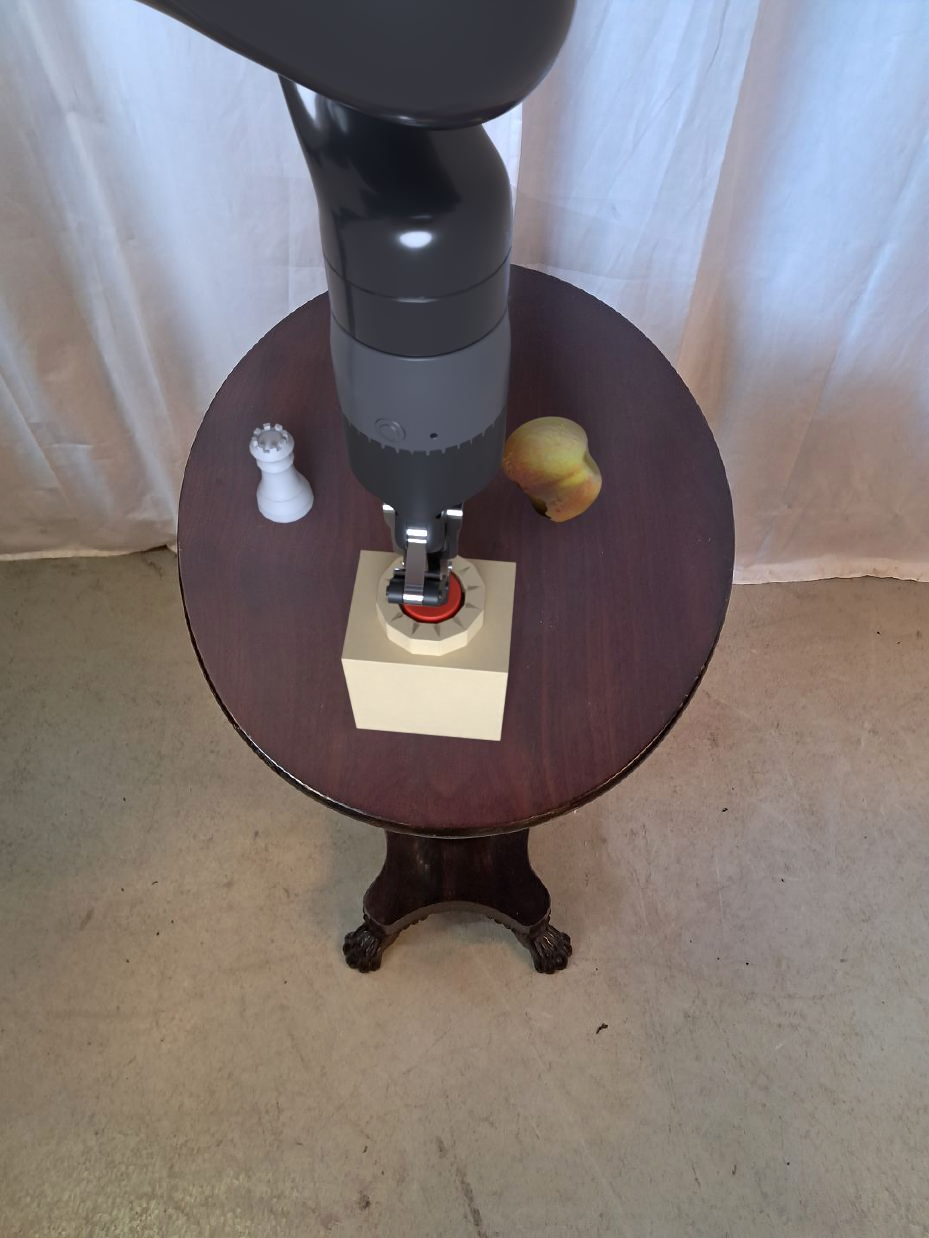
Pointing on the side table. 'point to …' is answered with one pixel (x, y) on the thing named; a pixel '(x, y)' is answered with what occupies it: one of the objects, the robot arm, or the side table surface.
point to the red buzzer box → (430, 653)
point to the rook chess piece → (279, 476)
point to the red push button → (437, 613)
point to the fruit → (553, 467)
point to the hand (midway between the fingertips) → (431, 593)
